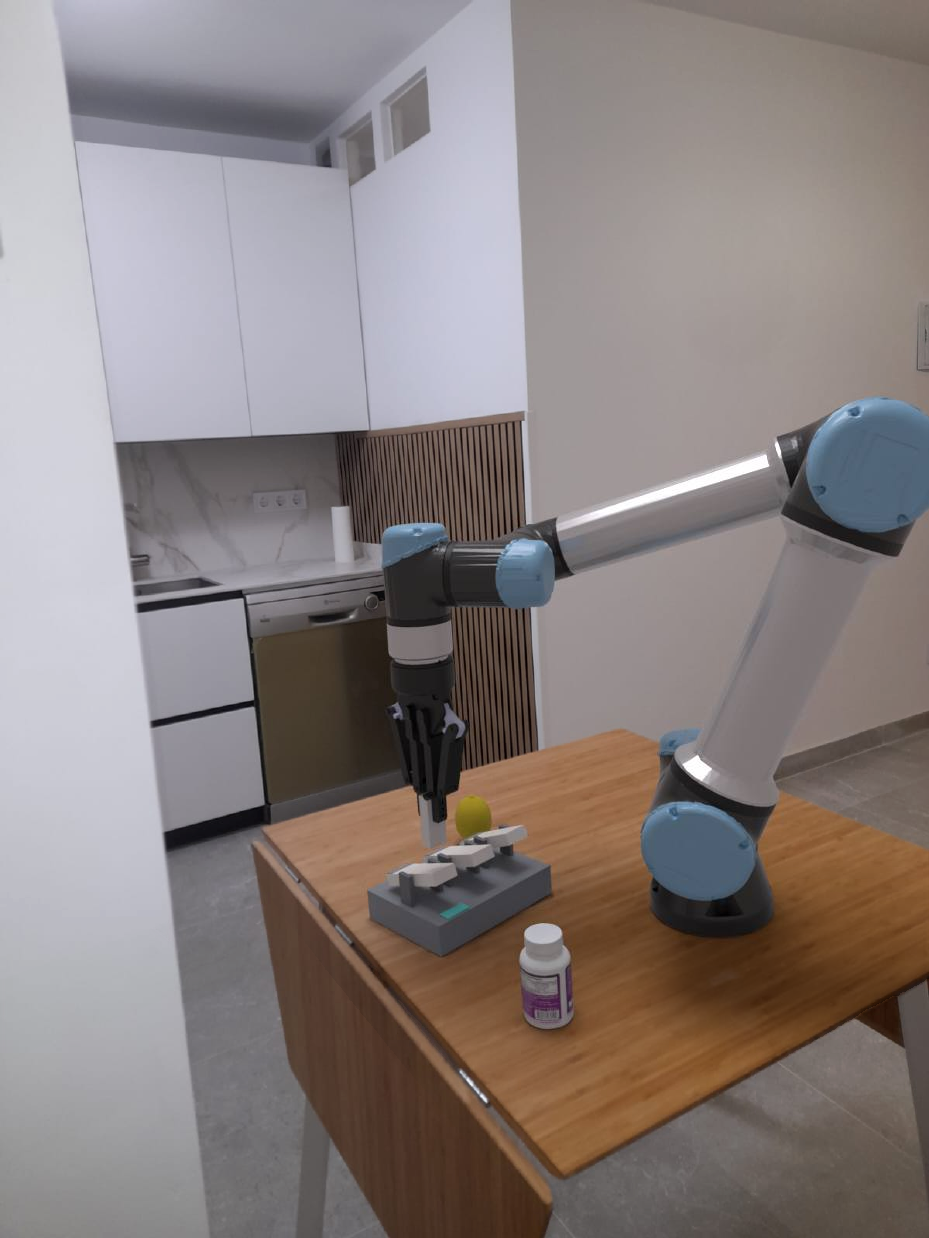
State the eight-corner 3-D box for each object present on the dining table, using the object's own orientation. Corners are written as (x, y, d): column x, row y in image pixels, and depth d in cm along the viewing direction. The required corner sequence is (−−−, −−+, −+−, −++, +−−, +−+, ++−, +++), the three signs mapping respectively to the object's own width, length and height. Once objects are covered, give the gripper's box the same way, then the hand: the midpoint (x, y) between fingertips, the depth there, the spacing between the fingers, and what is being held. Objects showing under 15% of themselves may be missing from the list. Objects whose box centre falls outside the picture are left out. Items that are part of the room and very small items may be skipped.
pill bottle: (546, 993, 100) (541, 913, 98) (584, 1013, 96) (579, 930, 94) (512, 1016, 96) (506, 934, 94) (550, 1038, 92) (545, 952, 91)
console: (552, 892, 122) (548, 837, 120) (441, 956, 108) (436, 895, 107) (479, 862, 132) (475, 811, 130) (369, 918, 119) (364, 861, 117)
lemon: (489, 852, 135) (486, 801, 133) (453, 851, 136) (449, 801, 135) (496, 836, 140) (492, 787, 139) (460, 835, 141) (457, 787, 140)
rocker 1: (458, 874, 112) (455, 861, 112) (434, 887, 109) (430, 873, 109) (411, 874, 120) (407, 862, 120) (387, 886, 117) (384, 873, 117)
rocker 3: (529, 835, 121) (525, 823, 121) (508, 845, 118) (504, 833, 118) (482, 843, 128) (478, 832, 128) (462, 853, 125) (458, 841, 126)
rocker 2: (495, 855, 116) (492, 843, 116) (473, 867, 114) (469, 854, 114) (447, 857, 124) (444, 845, 124) (425, 868, 121) (422, 855, 121)
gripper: (483, 657, 104) (494, 848, 109) (410, 643, 113) (423, 819, 118) (434, 671, 99) (447, 870, 104) (362, 655, 109) (377, 838, 113)
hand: (434, 843), depth 111 cm, fingers closed
